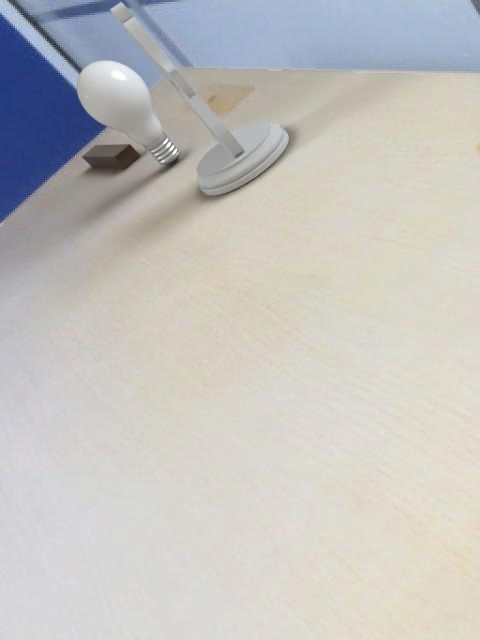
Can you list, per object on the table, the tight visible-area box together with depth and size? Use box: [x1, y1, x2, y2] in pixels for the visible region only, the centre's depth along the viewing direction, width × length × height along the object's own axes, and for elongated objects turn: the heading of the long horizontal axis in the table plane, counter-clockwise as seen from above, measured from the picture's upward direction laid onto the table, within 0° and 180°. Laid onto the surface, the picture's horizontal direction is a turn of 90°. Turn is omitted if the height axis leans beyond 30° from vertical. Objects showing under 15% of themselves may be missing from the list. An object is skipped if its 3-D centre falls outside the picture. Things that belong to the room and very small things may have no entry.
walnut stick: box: [81, 143, 141, 169], centre depth 90 cm, size 10×2×2 cm, turn 57°
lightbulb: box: [76, 59, 181, 166], centre depth 77 cm, size 6×6×11 cm
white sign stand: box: [109, 1, 290, 196], centre depth 67 cm, size 10×10×15 cm
